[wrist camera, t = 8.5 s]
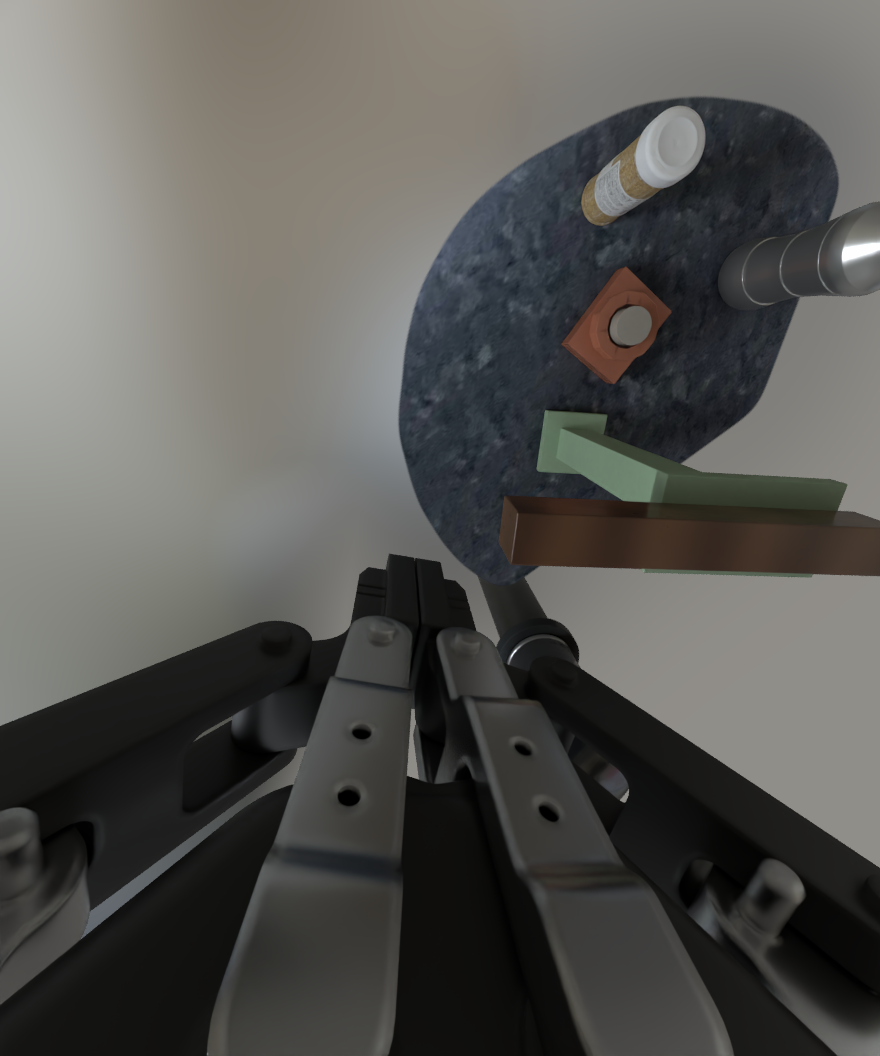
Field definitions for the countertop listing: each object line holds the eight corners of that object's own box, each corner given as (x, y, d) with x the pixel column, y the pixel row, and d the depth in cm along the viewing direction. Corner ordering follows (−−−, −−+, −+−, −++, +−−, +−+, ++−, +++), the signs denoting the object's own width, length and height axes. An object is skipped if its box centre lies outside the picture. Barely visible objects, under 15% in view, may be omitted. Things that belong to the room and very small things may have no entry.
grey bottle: (743, 229, 48) (964, 147, 29) (779, 277, 50) (1006, 229, 31) (696, 281, 49) (878, 234, 31) (732, 326, 51) (923, 308, 33)
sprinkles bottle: (620, 167, 45) (706, 94, 33) (626, 219, 47) (710, 169, 34) (575, 181, 45) (644, 113, 33) (583, 233, 47) (651, 187, 34)
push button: (626, 353, 48) (634, 352, 46) (601, 330, 47) (609, 329, 45) (650, 322, 47) (659, 321, 45) (625, 299, 46) (634, 297, 44)
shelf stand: (520, 468, 55) (641, 580, 27) (528, 408, 53) (670, 465, 25) (607, 473, 56) (809, 585, 29) (619, 414, 54) (852, 475, 26)
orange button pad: (605, 383, 52) (621, 385, 49) (560, 344, 50) (573, 343, 47) (661, 313, 50) (682, 309, 46) (616, 270, 48) (634, 262, 45)
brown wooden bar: (498, 542, 26) (510, 565, 23) (504, 494, 25) (517, 512, 22) (836, 554, 28) (884, 577, 25) (853, 511, 27) (906, 529, 24)
